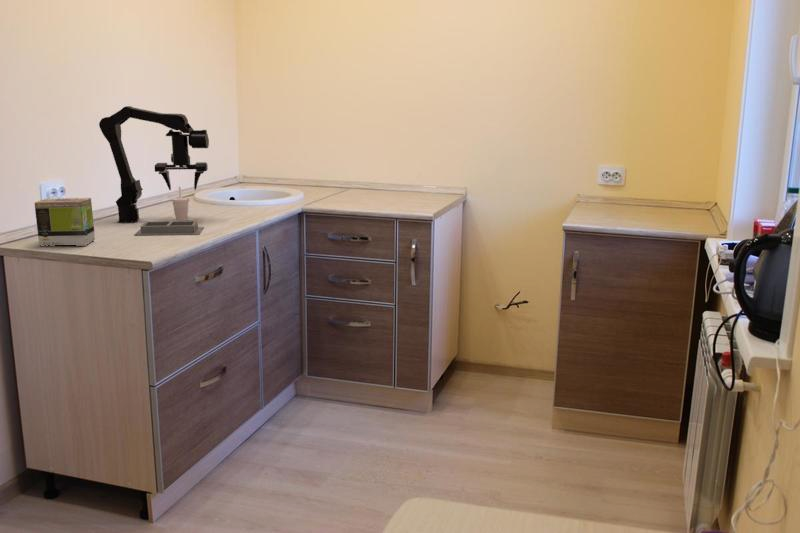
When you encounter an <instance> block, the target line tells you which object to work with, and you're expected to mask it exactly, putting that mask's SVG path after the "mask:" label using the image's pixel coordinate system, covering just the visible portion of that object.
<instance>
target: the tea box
mask: <svg viewBox="0 0 800 533" xmlns="http://www.w3.org/2000/svg"><path fill="white" fill-rule="evenodd" d="M92 204H93V203H92V198H91V197H61V198H60V197H58V198H57V197H56V198H50V197H48V198H44V199H41V200H39V201H36V202H34V210H35V212H34V213H35V220H36V227H37V236H38V245H42V246H41V247H56V246H55V245H76V246H75V247H86V246H88V245H90V244H91V243H93V242H95V241H94V240H96V238H95V237H96V236H95V225H94V216H93V215H94V214H93V206H92ZM92 241H93V242H92ZM90 242H91V243H90ZM89 243H90V244H89ZM87 244H88V245H87ZM44 245H46V246H44ZM48 245H50V246H48Z"/></svg>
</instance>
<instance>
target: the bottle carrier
mask: <svg viewBox="0 0 800 533" xmlns="http://www.w3.org/2000/svg"><path fill="white" fill-rule="evenodd" d="M204 229H205V226H199V222H198V220H187V221H176V220H172V221H171V220H168V221H161V220H160V221H156V220H155V221H153V220H152V221H145V222H144V223H143V224H141V226H140V228H139V230H138V231H137V232H136V233H134V236H135V237H140V236H146V237H148V236H200V235H201V233H202V231H203V230H204Z"/></svg>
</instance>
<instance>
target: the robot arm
mask: <svg viewBox="0 0 800 533" xmlns="http://www.w3.org/2000/svg"><path fill="white" fill-rule="evenodd" d="M130 119H135V120H141V121H146V122H151V123H156V124H158V125H162V126H164V127H166V128H169V130H168V131H167V133H165V137H171V147H172V148H171V150H172V153H171V154H170V161H171V163H172V164H168V162H157V163H156V164H155V165H154V172H155V173H157V172H158V175H161V176H162V178H163V179H164V181H165V183H166V186H167V188H168V190H169V191H171V190H172V187H171V179H170V170H171V171H172V170H195V172H194V180H193V182H194V184H193V185H194V186H193V187H194V188H193V189H194V191H196V190H197V186H198V183H199V180H200V177H201V174H202V175H203V174H204V173H205V172H207V171H208V169H209V168H208V163H207V162H206V161H205V162H204V161H203V162H195V164H194V163H193V164H191V156H190V155H189V146H190V147H191V148H192V149H208V148H209V146H210V144H209V143H210V140H209V135H208V131H207V129H200V130H199V129H198V130H196V129H195V130H194V129H193V127H192V126H191V124H190V123H189V120H188V118H187V116H186V115H185V114H182V113H163V112H157V111H153V110H148V109H143V108H138V107H133V106H131V105H128V106H127V105H126V106H123V107H122V109H120V110H118V111H116V112H115V113H113V114H112V115H110V116H105V117H103V118H101V119H100V121H99V124H98V126H99V129H100V131H101V133H102V134H103V137H104V138H105V139H106V140H107V142H108V144H109V147H110V150H111V153H112V156H113V159H114V163H115V165H116V168H117V172H118V175H119V178H120V192H121V193H120V197H119V198H117V199H116V200H115V204H116V205H117V210H118V221H117V223H136V222H137V221H139V220H140V213H139V212H140V211H139V208H138V206H137V202H138V200H139V199H140V198H141V196H142V194H143V188H142V185H141V180H140V179H137V180H136V179H135V177H134V176H133V172H132V170H131V166H130V163H129V161H128V158H127V153H126V151H125V148H124V145H123V141H122V127H121V125H123V124H124V123H126V122H127V121H128V120H130Z"/></svg>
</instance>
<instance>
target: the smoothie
mask: <svg viewBox="0 0 800 533" xmlns="http://www.w3.org/2000/svg"><path fill="white" fill-rule="evenodd" d="M181 189H182V188H181V186H179V187H178V193H179V197H173V198H171V203H172V206H173V213H174V217H175V221H188V214H189V202H190V198H189V197H182V193H181V192H182V191H181Z"/></svg>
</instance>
